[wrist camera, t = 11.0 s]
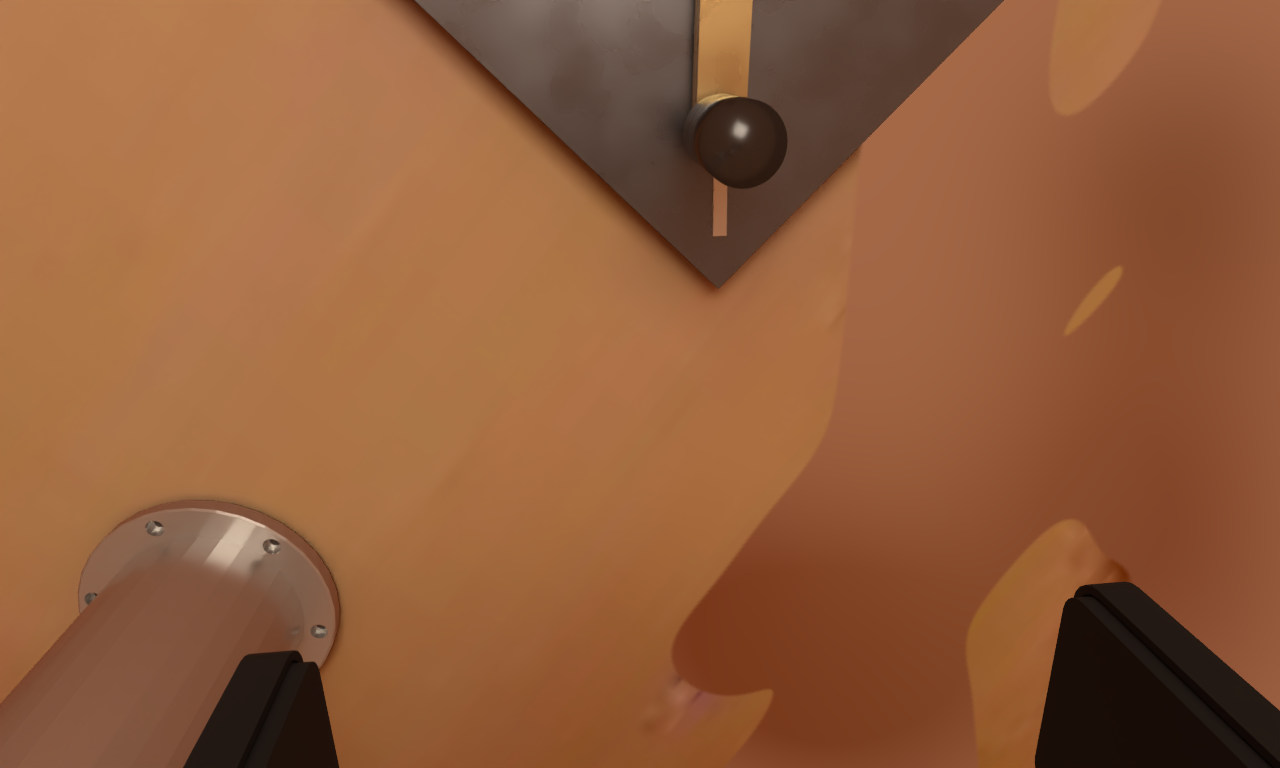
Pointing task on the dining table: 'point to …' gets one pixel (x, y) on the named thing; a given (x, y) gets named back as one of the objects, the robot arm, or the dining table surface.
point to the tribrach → (662, 95)
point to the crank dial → (730, 101)
